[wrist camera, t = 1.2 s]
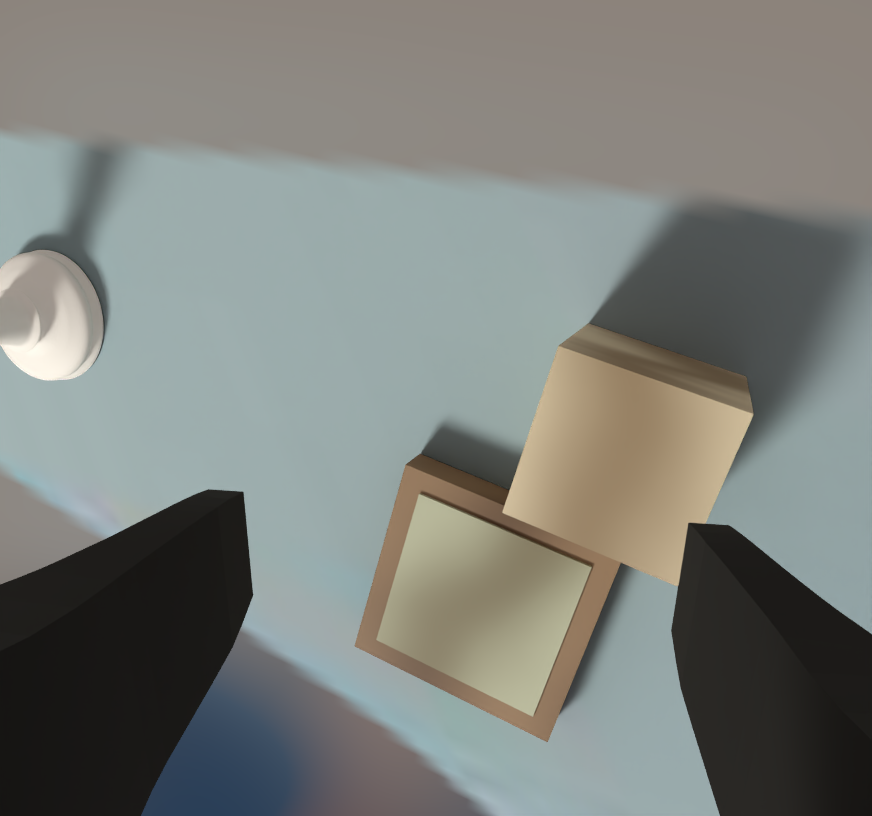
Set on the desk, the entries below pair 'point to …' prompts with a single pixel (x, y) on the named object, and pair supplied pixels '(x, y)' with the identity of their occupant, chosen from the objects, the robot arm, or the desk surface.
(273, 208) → the desk surface
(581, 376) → the birch cube
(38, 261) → the chess piece
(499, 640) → the brown framed square tile
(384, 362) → the desk surface
